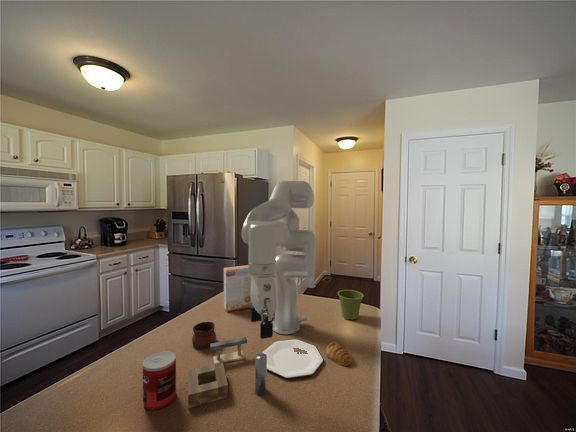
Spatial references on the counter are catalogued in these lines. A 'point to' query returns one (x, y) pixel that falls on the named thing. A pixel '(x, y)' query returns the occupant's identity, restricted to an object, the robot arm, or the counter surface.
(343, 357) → the pastry
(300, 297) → the counter surface
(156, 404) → the canned food
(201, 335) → the ceramic pot
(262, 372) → the pin
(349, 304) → the plant pot
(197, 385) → the block with square hole
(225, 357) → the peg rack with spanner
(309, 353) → the plate
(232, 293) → the cracker box
